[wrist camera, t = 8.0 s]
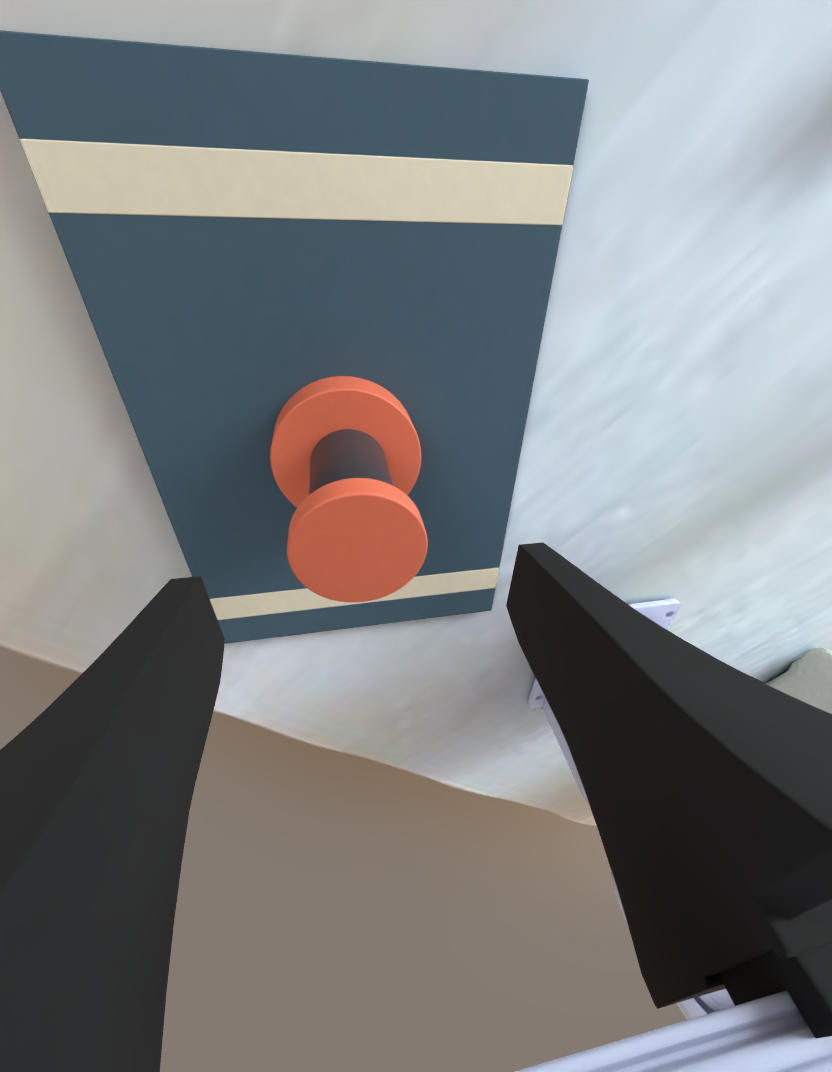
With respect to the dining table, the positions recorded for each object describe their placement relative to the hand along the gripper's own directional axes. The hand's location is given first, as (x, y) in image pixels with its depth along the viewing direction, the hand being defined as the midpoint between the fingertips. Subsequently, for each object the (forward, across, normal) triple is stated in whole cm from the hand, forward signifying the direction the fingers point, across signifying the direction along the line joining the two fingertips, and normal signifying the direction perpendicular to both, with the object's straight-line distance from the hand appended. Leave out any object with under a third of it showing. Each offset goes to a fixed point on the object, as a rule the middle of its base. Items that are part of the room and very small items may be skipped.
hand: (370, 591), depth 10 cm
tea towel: (+8, 0, 0) cm, 8 cm away
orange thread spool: (+8, 0, 0) cm, 8 cm away
